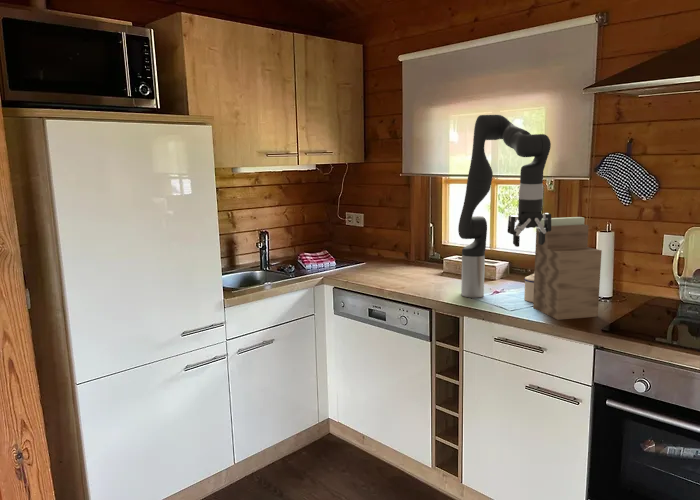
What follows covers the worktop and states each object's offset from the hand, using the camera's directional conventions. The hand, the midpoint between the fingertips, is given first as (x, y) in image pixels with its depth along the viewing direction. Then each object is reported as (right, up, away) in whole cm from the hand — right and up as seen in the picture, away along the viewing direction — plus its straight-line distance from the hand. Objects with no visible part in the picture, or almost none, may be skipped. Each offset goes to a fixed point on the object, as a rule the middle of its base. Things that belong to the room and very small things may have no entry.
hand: (528, 245), depth 177 cm
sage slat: (+15, +7, +17) cm, 24 cm away
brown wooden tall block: (+20, -25, +19) cm, 37 cm away
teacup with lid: (+16, -22, +38) cm, 47 cm away
